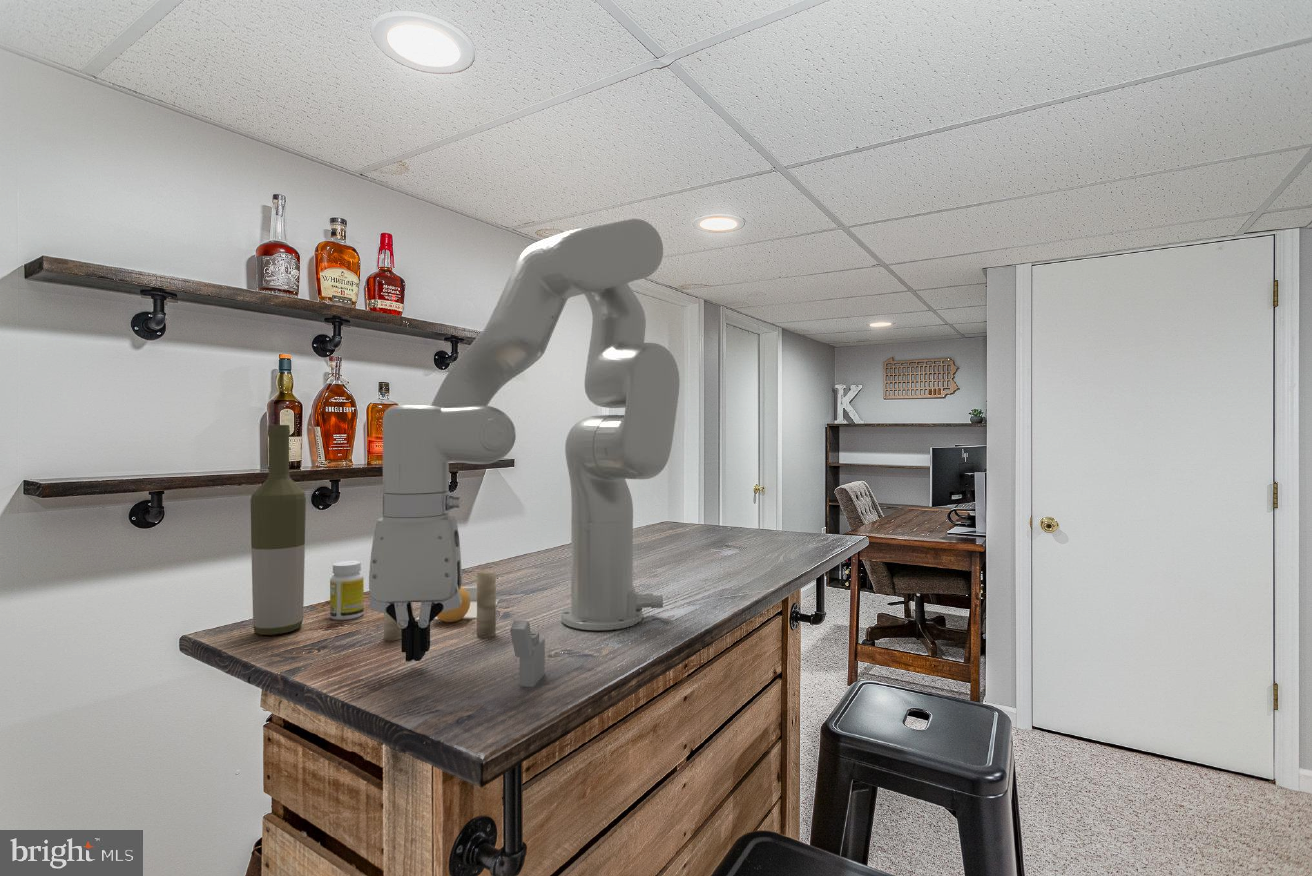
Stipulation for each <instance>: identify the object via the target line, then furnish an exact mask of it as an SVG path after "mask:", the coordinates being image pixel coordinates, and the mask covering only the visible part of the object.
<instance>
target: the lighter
mask: <svg viewBox="0 0 1312 876" xmlns="http://www.w3.org/2000/svg"><path fill="white" fill-rule="evenodd" d="M530 626H531V625H530V621H528V620H517V619H516V620H514V621H513V623H512V625H511V627H510V629H509V631H510V636H511V637H510V638H511V641H512V647H513V650H514V652H513V653H514V656H515V657H516V658H519V686H520V687H531V688H533V687H535V686H536V685H537V684H538V683H539V682H540V680H541V679H542V678H543V677H544V676H545V674H546V671H545V670H546V668H545V667H546V664H545V663H546V661H545V660H546V654H545V653H546V647H545V645H546V642H545V641H546V639H545V637H540V632H536V631H535V632H532V631H531V627H530Z"/></svg>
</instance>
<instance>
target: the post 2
mask: <svg viewBox="0 0 1312 876" xmlns="http://www.w3.org/2000/svg"><path fill="white" fill-rule="evenodd" d="M496 573H497V572H496V570H491V569H484V570H483V569H482V570H479V571H477V572H476V586H477V619H476V637H477V638H482V639H485V638H486V639H489V638H492V637H493V638H494V637H495V636H496V634H497V633H496V629H497V628H496V626H497V625H496V623H497V621H496V620H497V619H496V618H497V617H496V615H497V614H496V609H497V607H496V606H497V605H496V599H497V582H496V581H497V578H496V575H497V574H496Z"/></svg>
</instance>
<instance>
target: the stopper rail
mask: <svg viewBox="0 0 1312 876" xmlns="http://www.w3.org/2000/svg"><path fill="white" fill-rule="evenodd" d="M462 587H463V588H464V589H465V590H466V591H467V592H468V594H469V597H470V601H477V585H473V586H471V585H470V586H469V585H468V586H462Z"/></svg>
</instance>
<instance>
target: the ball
mask: <svg viewBox="0 0 1312 876" xmlns="http://www.w3.org/2000/svg"><path fill="white" fill-rule="evenodd" d="M463 587H464V586H461V588H460V589H459V591H460V595H461V599H462V604H461V605H460V606H459V607H458V608H456V609H452V610H448V611H444V612H441V613H440V614H438V615H437V616H436V617H437V618H439V619H440V620H439V621H442V622H443V623H445V622H446V623H455V622H457V621H459V620H463V619H462V618H463V617H464V616H465V615H466V614H467V612H468V610H469V607H470V597H469V594H468V592H467V591H466V590H465V589H464V588H463Z"/></svg>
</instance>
